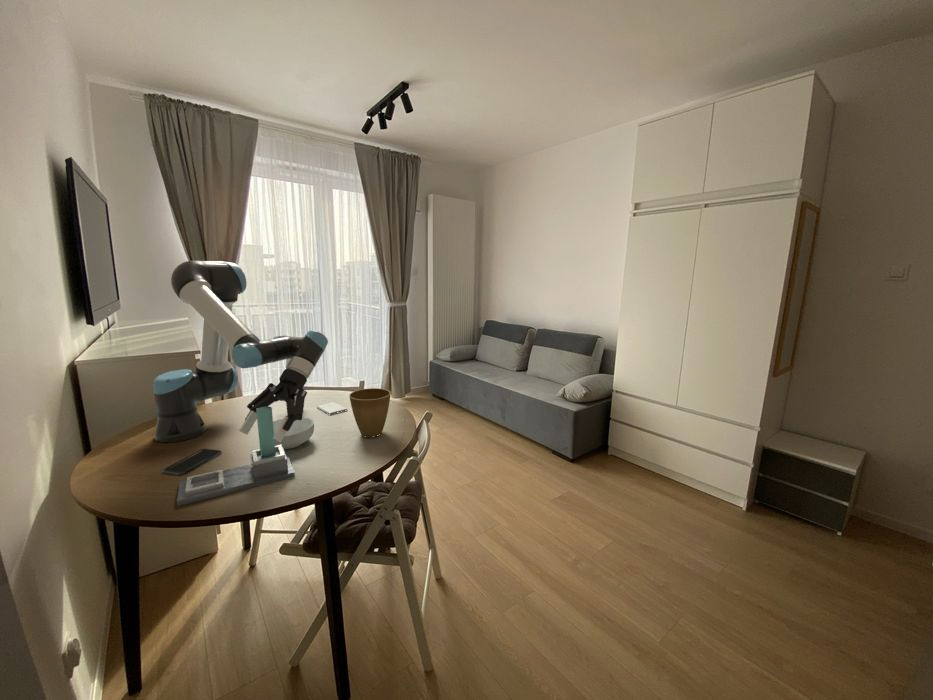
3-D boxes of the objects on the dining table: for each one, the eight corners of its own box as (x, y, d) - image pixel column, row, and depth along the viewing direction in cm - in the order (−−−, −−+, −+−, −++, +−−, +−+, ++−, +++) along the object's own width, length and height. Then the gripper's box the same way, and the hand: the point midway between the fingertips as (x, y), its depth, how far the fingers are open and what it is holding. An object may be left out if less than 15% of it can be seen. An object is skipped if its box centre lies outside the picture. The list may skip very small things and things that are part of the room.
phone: (160, 470, 114) (202, 448, 128) (161, 474, 114) (203, 451, 128) (183, 473, 112) (223, 450, 127) (183, 476, 113) (223, 453, 127)
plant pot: (399, 434, 144) (398, 393, 141) (364, 446, 133) (362, 402, 130) (378, 423, 154) (376, 385, 151) (344, 433, 144) (341, 393, 141)
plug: (257, 458, 112) (253, 410, 109) (269, 452, 116) (264, 405, 113) (267, 460, 111) (263, 412, 108) (278, 454, 114) (274, 407, 111)
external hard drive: (329, 416, 162) (317, 409, 170) (347, 412, 168) (334, 404, 176) (329, 413, 162) (316, 405, 170) (347, 408, 167) (334, 401, 176)
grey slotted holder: (177, 506, 98) (173, 482, 96) (181, 484, 108) (177, 463, 106) (294, 476, 113) (293, 455, 111) (288, 460, 122) (286, 440, 121)
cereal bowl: (270, 436, 140) (268, 418, 139) (317, 432, 144) (316, 414, 143) (257, 457, 124) (255, 437, 123) (311, 452, 128) (310, 432, 127)
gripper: (333, 384, 119) (300, 448, 108) (275, 375, 128) (238, 434, 117) (320, 372, 113) (283, 438, 102) (260, 363, 122) (220, 424, 111)
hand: (259, 436), depth 110 cm, fingers open, 13 cm apart
